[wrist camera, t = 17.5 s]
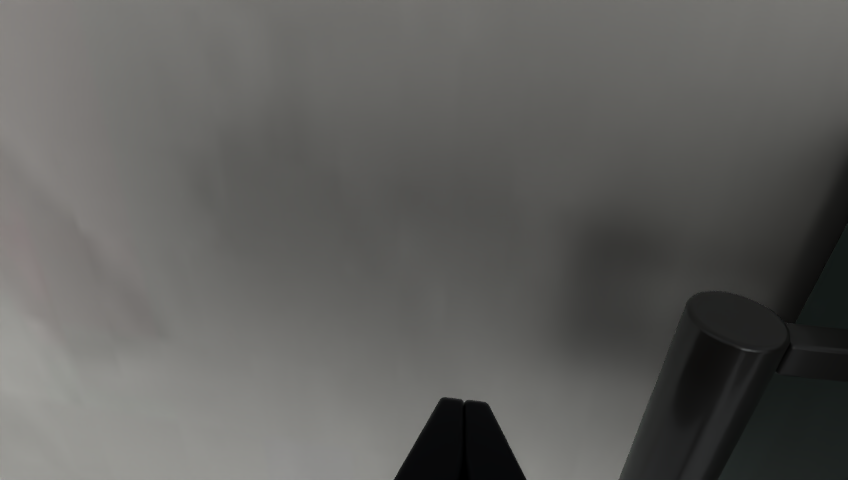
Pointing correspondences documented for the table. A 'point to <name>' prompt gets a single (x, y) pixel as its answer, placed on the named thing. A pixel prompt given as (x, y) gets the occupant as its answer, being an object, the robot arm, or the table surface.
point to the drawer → (752, 390)
